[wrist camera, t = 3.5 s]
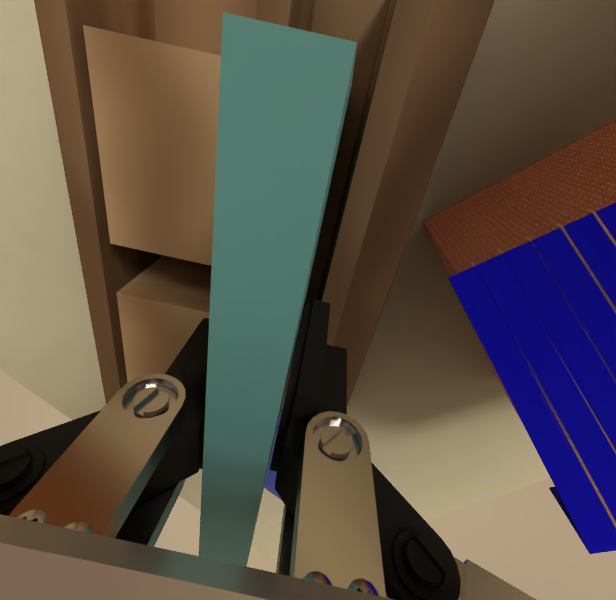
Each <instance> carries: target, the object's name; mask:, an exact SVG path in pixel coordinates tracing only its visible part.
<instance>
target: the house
mask: <svg viewBox="0 0 616 600" xmlns="http://www.w3.org/2000/svg"><path fill="white" fill-rule="evenodd" d="M423 222H424V224H425V226H426V228H427V230H428V232H429V235H430V237H431V239H432V241H433V243H434V245H435V247H436V249H437V251H438V253H439V256H440V258H441V260H442V262H443V264H444V266H445V268H446V270H447V272H448V274H449V280H450V282H451V284H452V286H453V288H454V290H455V292H456V294H457V296H458V298H459V300H460V302H461V304H462V306H463V308H464V310H465V312H466V313H467V315H468V317H469V319H470V321H471V323H472V325H473V327H474V329H475V331H476V333H477V335H478V337H479V339H480V342H481V344H482V346H483V348H484V350H485V352H486V354H487V356H488V358H489V360H490V363H491V365H492V367H493V369H494V371H495V373H496V375H497V377H498V379H499V381H500V383H501V385H502V387H503V388H504V390H505V392H506V394H507V396H508V397H509V399H510V401H511V403H512V405H513V406H514V408H515V410H516V412H517V414H518V416H519V417H520V419H521V421H522V423H523V425H524V426H525V428H526V430H527V432H528V434H529V436H530V438H531V440H532V442H533V444H534V446H535V448H536V450H537V452H538V454H539V456H540V458H541V460H542V462H543V464H544V465H545V467H546V469H547V471H548V473H549V475H550V477H551V479H552V481H553V483H554V485H555V487H550V488H549V489H550V490H551V492H552V494H553V495H554V497H555V498H556V500H557V502H558V503H559V505H560V506H561V508H562V510H563V511H564V513H565V515H566V516H567V518H568V519H569V521H570V523H571V524H572V526H573V527H574V529H575V531H576V532H577V534H578V535H579V537H580V539H581V540H582V542H583V544H584V545H585V547H586V548H587V550H588V552H589V553H590V554H593V553H600V552H608V551H614V550H616V121H614V122H612V123H610V124H608V125H606V126H604V127H602V128H601V129H599V130H597V131H595V132H593V133H591V134H589V135H587V136H585V137H583V138H581V139H579V140H578V141H576V142H574V143H572V144H570V145H568V146H566V147H564V148H562V149H560V150H558V151H557V152H555V153H553V154H551V155H549V156H547V157H545V158H543V159H541V160H539V161H537V162H535V163H534V164H532V165H530V166H528V167H526V168H524V169H522V170H520V171H518V172H516V173H514V174H513V175H511V176H509V177H507V178H505V179H503V180H501V181H499V182H497V183H495V184H493V185H491V186H490V187H488V188H486V189H484V190H482V191H480V192H478V193H476V194H474V195H472V196H470V197H469V198H467V199H465V200H463V201H461V202H459V203H457V204H455V205H453V206H451V207H449V208H447V209H446V210H444V211H442V212H440V213H438V214H436V215H434V216H432V217H430V218H428V219H426V220H425V221H423Z"/></svg>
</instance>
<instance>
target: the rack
mask: <svg viewBox="0 0 616 600" xmlns="http://www.w3.org/2000/svg"><path fill="white" fill-rule="evenodd" d="M494 1H495V0H34V2H35V8H36V13H37V19H38V25H39V30H40V36H41V41H42V47H43V53H44V58H45V64H46V69H47V75H48V81H49V86H50V92H51V97H52V103H53V108H54V114H55V120H56V125H57V131H58V136H59V142H60V148H61V153H62V159H63V164H64V170H65V176H66V181H67V187H68V192H69V198H70V204H71V209H72V215H73V220H74V226H75V232H76V237H77V243H78V248H79V254H80V259H81V265H82V271H83V276H84V282H85V287H86V293H87V299H88V304H89V310H90V315H91V321H92V327H93V332H94V338H95V343H96V349H97V355H98V360H99V366H100V371H101V377H102V383H103V388H104V394H105V399H106V404H107V403H108V402H109V401H110V400H111V399H112V398H113V396H114V395H115V394H116V393H117V392H118V391H119V390H120V389H121V388H122V387H123V386H124V385H125V384H126V383H128V381H127V373H126V365H125V357H124V349H123V341H122V333H121V325H120V317H119V309H118V301H117V292H118V291H119V290H120V289H122V288H123V287H124V286H125V285H127V284H128V283H129V282H130V281H132V280H133V279H134V278H135V277H137V276H138V275H139V274H140V273H142V272H143V271H144V270H145V269H147V268H148V267H149V266H150V265H152V264H153V263H154V262H155V261H157V260H158V259H159V258H160V257H162V256H163V255H160V254H156V253H151V252H147V251H142V250H138V249H133V248H129V247H124V246H119V245H115V244H110V237H109V229H108V221H107V213H106V205H105V197H104V189H103V181H102V173H101V165H100V157H99V149H98V141H97V133H96V125H95V117H94V109H93V101H92V93H91V85H90V77H89V69H88V61H87V53H86V45H85V37H84V29H83V25H85V26H90V27H94V28H99V29H103V30H108V31H112V32H117V33H121V34H126V35H130V36H135V37H139V38H144V39H148V40H153V41H157V42H162V43H166V44H171V45H175V46H180V47H184V48H189V49H193V50H198V51H202V52H207V53H211V54H216V55H220V56H221V41H222V19H223V12H224V13H229V14H233V15H238V16H242V17H247V18H251V19H256V20H260V21H265V22H269V23H274V24H278V25H283V26H287V27H292V28H296V29H300V30H305V31H309V32H314V33H318V34H323V35H327V36H332V37H336V38H341V39H345V40H350V41H354V42H357V47H356V55H355V63H354V70H353V78H352V86H351V93H350V98H349V102H348V107H347V111H346V116H345V120H344V125H343V130H342V134H341V139H340V143H339V148H338V153H337V157H336V162H335V166H334V171H333V176H332V180H331V185H330V189H329V194H328V199H327V203H326V208H325V212H324V217H323V221H322V226H321V231H320V235H319V240H318V244H317V249H316V254H315V258H314V263H313V267H312V272H311V277H310V281H309V286H308V290H307V295H306V300H305V304H304V309H303V313H302V318H301V322H300V327H299V332H300V328H301V323H302V319H303V314H304V310H305V305H306V303H310V304H313V300H318V301H322V302H327V303H330V314H329V325H328V335H327V344H328V345H332V346H337V347H341V348H346V349H347V405H348V402H349V399H350V396H351V394H352V391H353V388H354V385H355V383H356V380H357V377H358V374H359V372H360V369H361V366H362V363H363V361H364V358H365V355H366V352H367V350H368V347H369V344H370V341H371V339H372V336H373V333H374V330H375V328H376V325H377V322H378V319H379V317H380V314H381V311H382V308H383V306H384V303H385V300H386V297H387V295H388V292H389V289H390V286H391V284H392V281H393V278H394V275H395V273H396V270H397V267H398V264H399V262H400V259H401V256H402V253H403V251H404V248H405V245H406V242H407V240H408V237H409V234H410V231H411V229H412V226H413V223H414V220H415V218H416V215H417V212H418V210H419V207H420V204H421V201H422V199H423V196H424V193H425V190H426V188H427V185H428V182H429V179H430V177H431V174H432V171H433V168H434V166H435V163H436V160H437V157H438V155H439V152H440V149H441V146H442V144H443V141H444V138H445V135H446V133H447V130H448V127H449V124H450V122H451V119H452V116H453V113H454V111H455V108H456V105H457V102H458V100H459V97H460V94H461V91H462V89H463V86H464V83H465V80H466V78H467V75H468V72H469V69H470V67H471V64H472V61H473V58H474V56H475V53H476V50H477V47H478V45H479V42H480V39H481V36H482V34H483V31H484V28H485V25H486V23H487V20H488V17H489V14H490V12H491V9H492V6H493V3H494ZM299 332H298V336H297V341H296V345H295V350H294V355H295V351H296V346H297V342H298V337H299ZM294 355H293V359H292V364H293V360H294ZM292 364H291V368H290V373H291V369H292ZM290 373H289V377H288V382H287V386H286V391H285V395H284V400H283V404H282V409H283V405H284V401H285V396H286V392H287V387H288V383H289V378H290Z"/></svg>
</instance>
